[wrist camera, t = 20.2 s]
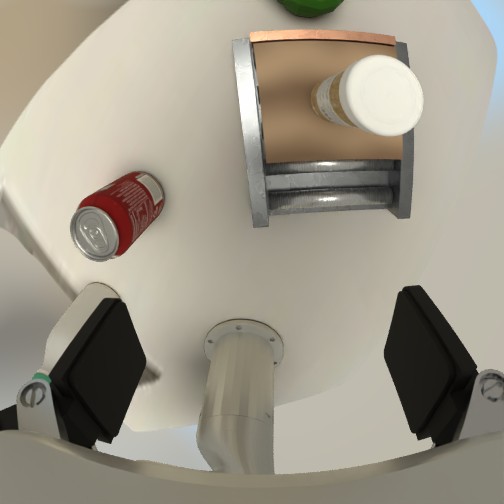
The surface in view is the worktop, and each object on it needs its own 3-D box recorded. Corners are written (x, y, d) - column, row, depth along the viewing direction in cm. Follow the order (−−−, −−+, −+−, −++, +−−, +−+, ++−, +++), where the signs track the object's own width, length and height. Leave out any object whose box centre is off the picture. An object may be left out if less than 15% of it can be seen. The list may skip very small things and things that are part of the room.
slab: (393, 155, 28) (402, 159, 26) (266, 159, 29) (266, 163, 27) (386, 50, 22) (395, 47, 20) (254, 48, 24) (253, 43, 21)
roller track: (396, 206, 33) (413, 221, 29) (255, 214, 35) (253, 231, 30) (391, 46, 24) (410, 39, 20) (235, 45, 26) (230, 34, 21)
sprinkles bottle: (364, 107, 24) (439, 112, 12) (328, 132, 25) (380, 154, 13) (336, 69, 22) (394, 39, 10) (299, 94, 24) (328, 79, 12)
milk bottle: (77, 283, 41) (10, 368, 24) (112, 278, 40) (44, 376, 23) (96, 320, 45) (44, 407, 27) (131, 318, 44) (81, 417, 26)
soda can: (153, 162, 32) (103, 189, 22) (173, 211, 35) (136, 257, 24) (110, 182, 34) (55, 215, 23) (130, 227, 36) (85, 274, 26)
